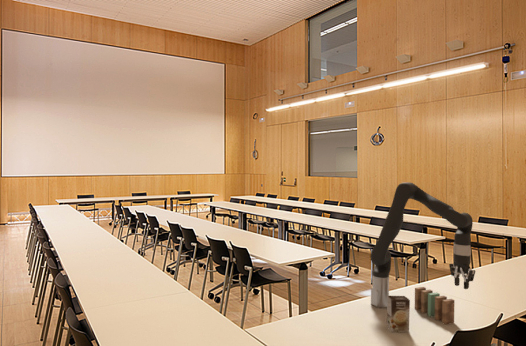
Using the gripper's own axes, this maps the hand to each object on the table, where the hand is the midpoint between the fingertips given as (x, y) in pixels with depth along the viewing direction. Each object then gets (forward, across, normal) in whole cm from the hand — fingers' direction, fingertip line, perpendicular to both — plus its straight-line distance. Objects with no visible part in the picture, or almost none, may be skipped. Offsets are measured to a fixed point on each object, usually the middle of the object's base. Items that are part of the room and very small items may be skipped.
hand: (461, 287), depth 184 cm
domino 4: (+21, -13, 0) cm, 25 cm away
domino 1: (+21, -28, 0) cm, 35 cm away
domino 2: (+21, -23, 0) cm, 31 cm away
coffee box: (+22, -10, -30) cm, 38 cm away
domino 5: (+21, -8, 0) cm, 23 cm away
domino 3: (+21, -18, 0) cm, 28 cm away
